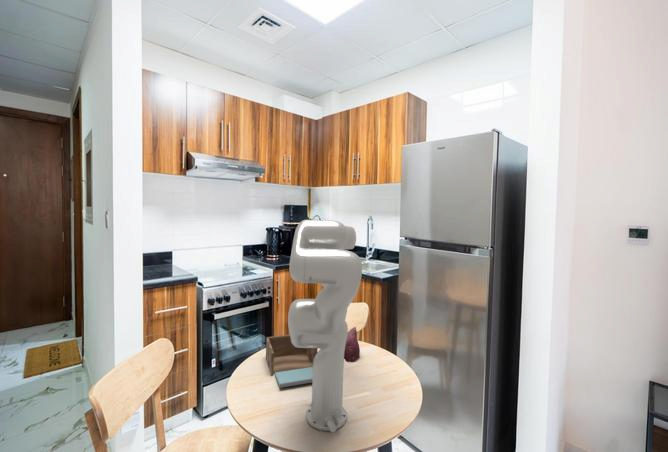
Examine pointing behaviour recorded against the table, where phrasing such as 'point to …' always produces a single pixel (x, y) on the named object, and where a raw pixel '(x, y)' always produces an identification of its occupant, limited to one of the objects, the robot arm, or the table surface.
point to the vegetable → (352, 346)
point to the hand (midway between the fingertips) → (328, 305)
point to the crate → (287, 355)
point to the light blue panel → (294, 377)
